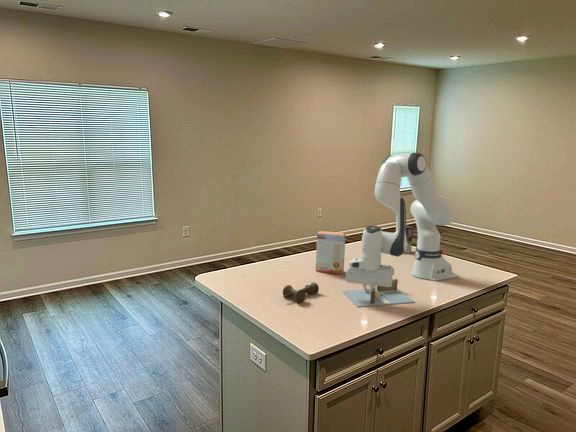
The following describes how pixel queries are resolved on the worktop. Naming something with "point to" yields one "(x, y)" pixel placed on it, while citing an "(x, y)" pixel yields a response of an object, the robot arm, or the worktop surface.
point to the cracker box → (330, 252)
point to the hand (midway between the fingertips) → (367, 293)
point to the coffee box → (409, 238)
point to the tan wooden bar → (373, 295)
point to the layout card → (379, 296)
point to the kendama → (300, 292)
